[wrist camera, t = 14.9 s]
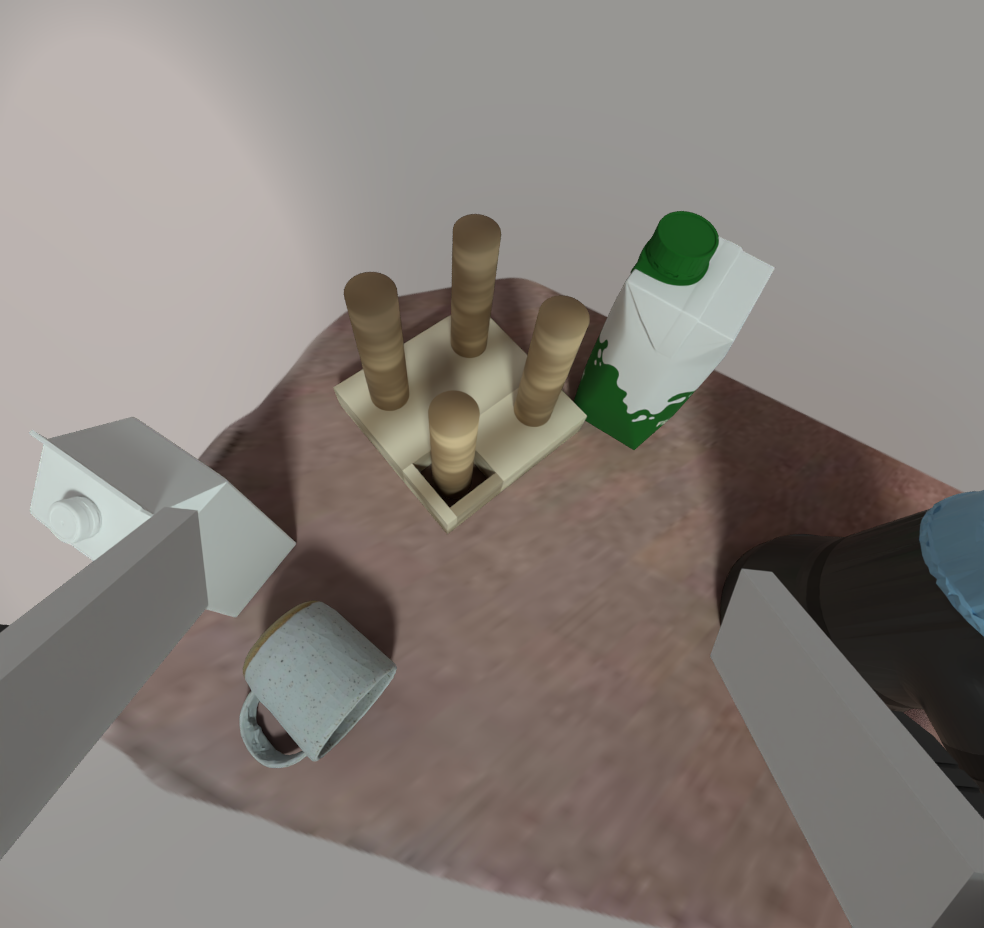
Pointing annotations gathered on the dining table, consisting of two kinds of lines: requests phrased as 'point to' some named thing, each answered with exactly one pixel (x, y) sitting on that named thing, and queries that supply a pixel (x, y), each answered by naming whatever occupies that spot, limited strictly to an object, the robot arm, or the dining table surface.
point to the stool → (462, 374)
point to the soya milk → (668, 327)
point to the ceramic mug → (310, 682)
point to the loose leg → (453, 442)
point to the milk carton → (154, 504)
